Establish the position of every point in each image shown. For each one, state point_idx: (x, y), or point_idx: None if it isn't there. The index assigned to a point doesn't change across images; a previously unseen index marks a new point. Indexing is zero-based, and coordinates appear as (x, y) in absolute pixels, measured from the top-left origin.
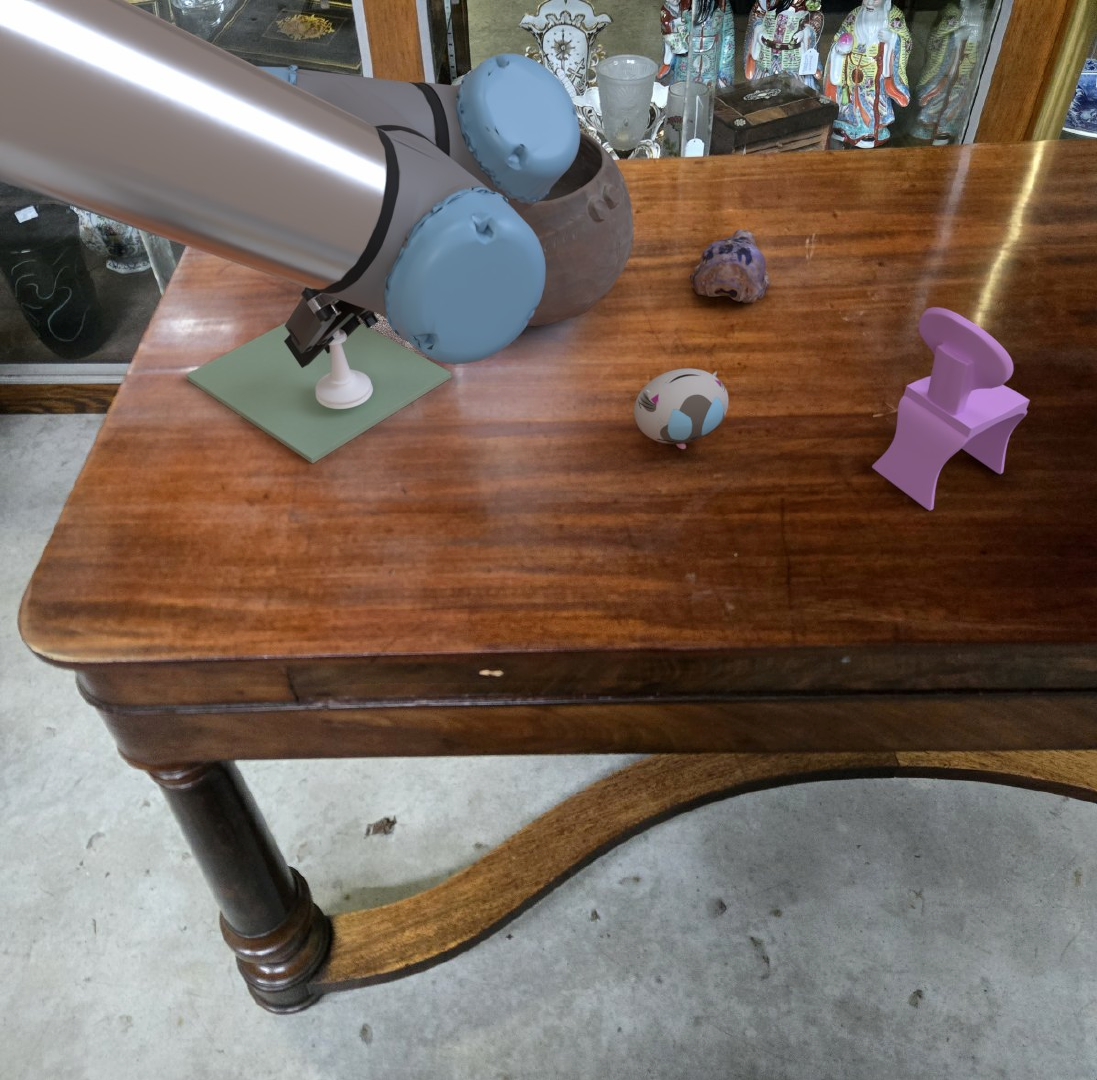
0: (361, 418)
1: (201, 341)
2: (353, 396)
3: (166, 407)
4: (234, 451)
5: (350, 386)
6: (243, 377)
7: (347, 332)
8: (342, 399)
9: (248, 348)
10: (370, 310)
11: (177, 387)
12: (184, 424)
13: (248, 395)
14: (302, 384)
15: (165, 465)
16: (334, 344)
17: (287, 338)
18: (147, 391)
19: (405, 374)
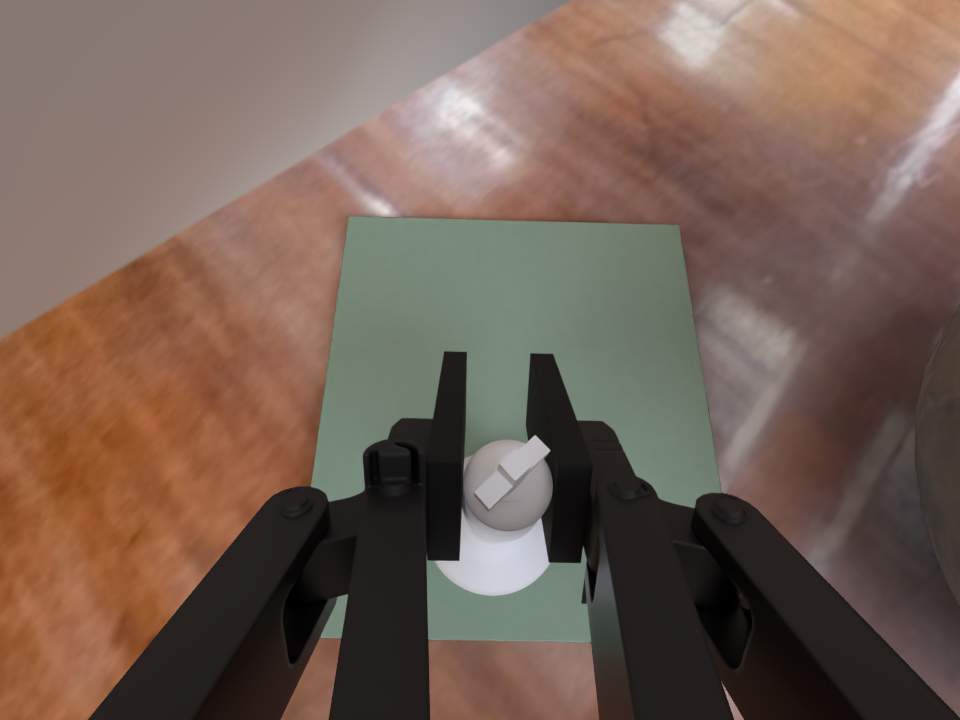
0: (468, 611)
1: (446, 158)
2: (476, 581)
3: (271, 257)
4: (238, 458)
5: (491, 554)
6: (408, 297)
7: (542, 519)
8: (450, 569)
9: (478, 235)
10: (595, 675)
11: (325, 227)
12: (251, 319)
13: (372, 349)
14: (468, 402)
15: (136, 389)
16: (476, 531)
17: (442, 363)
18: (287, 201)
19: None
